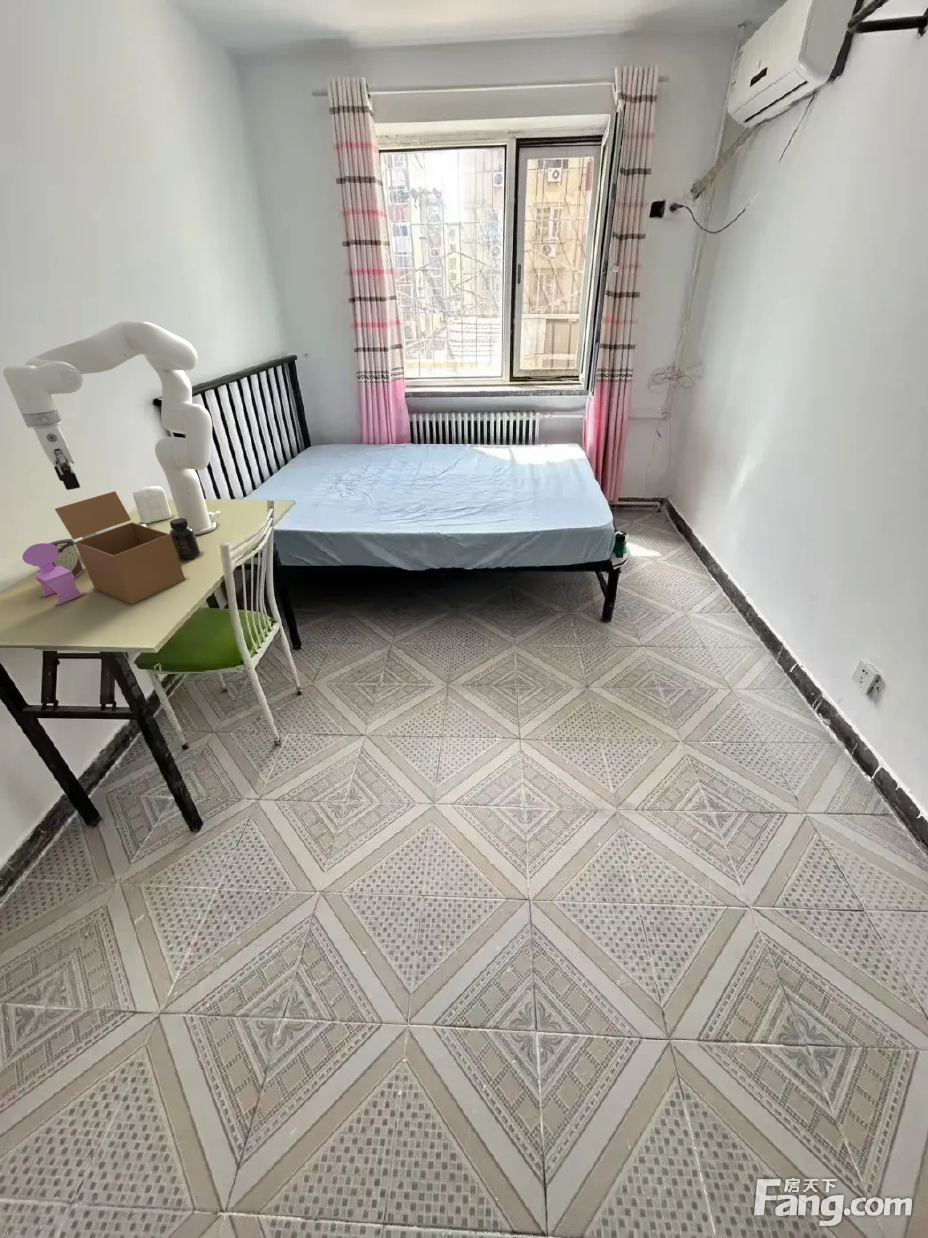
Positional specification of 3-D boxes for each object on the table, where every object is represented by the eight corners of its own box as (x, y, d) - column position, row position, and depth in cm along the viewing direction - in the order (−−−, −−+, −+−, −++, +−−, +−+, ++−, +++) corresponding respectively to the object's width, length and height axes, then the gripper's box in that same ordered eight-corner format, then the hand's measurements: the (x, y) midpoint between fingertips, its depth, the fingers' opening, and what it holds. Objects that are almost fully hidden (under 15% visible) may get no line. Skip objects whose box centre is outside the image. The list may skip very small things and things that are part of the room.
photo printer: (169, 514, 197) (159, 482, 190) (174, 517, 194) (163, 485, 187) (140, 521, 191) (128, 489, 184) (144, 525, 188) (132, 491, 181)
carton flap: (73, 539, 141) (73, 539, 141) (131, 519, 153) (130, 520, 153) (54, 508, 138) (54, 508, 138) (115, 491, 149) (114, 491, 150)
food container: (65, 568, 159) (51, 538, 154) (86, 568, 160) (73, 537, 154) (41, 588, 149) (25, 556, 143) (63, 587, 149) (48, 556, 144)
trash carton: (94, 588, 149) (74, 542, 141) (148, 565, 161) (132, 522, 153) (132, 604, 142) (113, 556, 134) (185, 579, 153) (170, 534, 146)
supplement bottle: (205, 553, 169) (195, 518, 162) (189, 562, 163) (178, 526, 157) (188, 550, 170) (177, 515, 164) (172, 558, 165) (160, 523, 159)
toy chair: (55, 606, 140) (30, 556, 132) (39, 598, 144) (14, 548, 136) (87, 593, 146) (65, 544, 138) (71, 585, 150) (48, 537, 142)
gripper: (65, 422, 130) (92, 488, 139) (53, 411, 141) (79, 473, 150) (29, 427, 126) (59, 495, 135) (19, 415, 136) (48, 479, 146)
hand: (70, 484), depth 142 cm, fingers open, 9 cm apart
